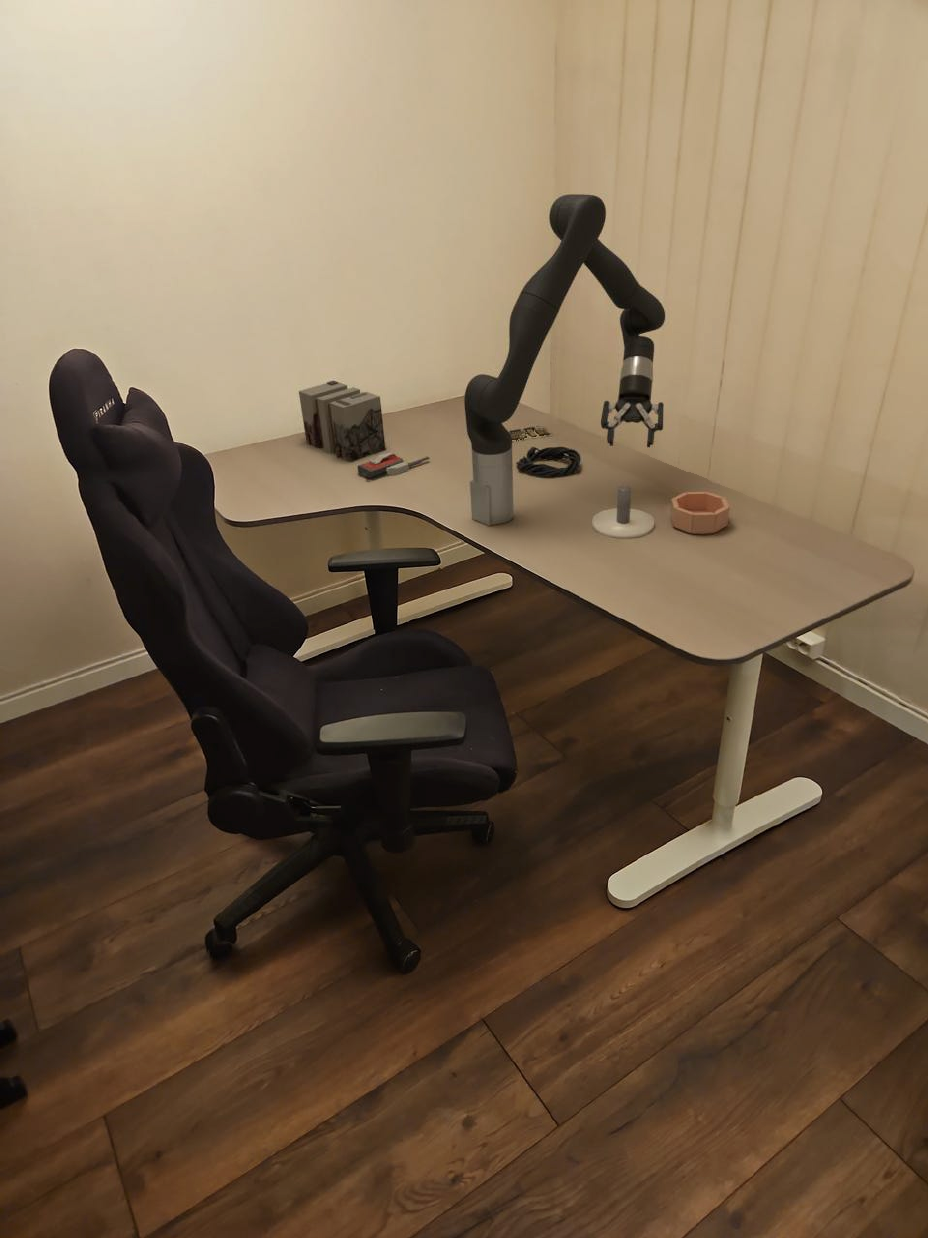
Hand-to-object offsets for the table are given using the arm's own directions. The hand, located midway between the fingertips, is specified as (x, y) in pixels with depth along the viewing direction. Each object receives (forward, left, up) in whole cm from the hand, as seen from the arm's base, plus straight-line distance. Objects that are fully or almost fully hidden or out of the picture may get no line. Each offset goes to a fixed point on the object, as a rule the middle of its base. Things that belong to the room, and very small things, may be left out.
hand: (629, 445), depth 204 cm
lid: (-10, -7, -15) cm, 19 cm away
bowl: (+2, -19, -15) cm, 24 cm away
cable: (+3, +29, -15) cm, 33 cm away
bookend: (-24, +84, -15) cm, 89 cm away
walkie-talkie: (-25, +60, -15) cm, 67 cm away
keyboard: (+13, +53, -16) cm, 57 cm away
